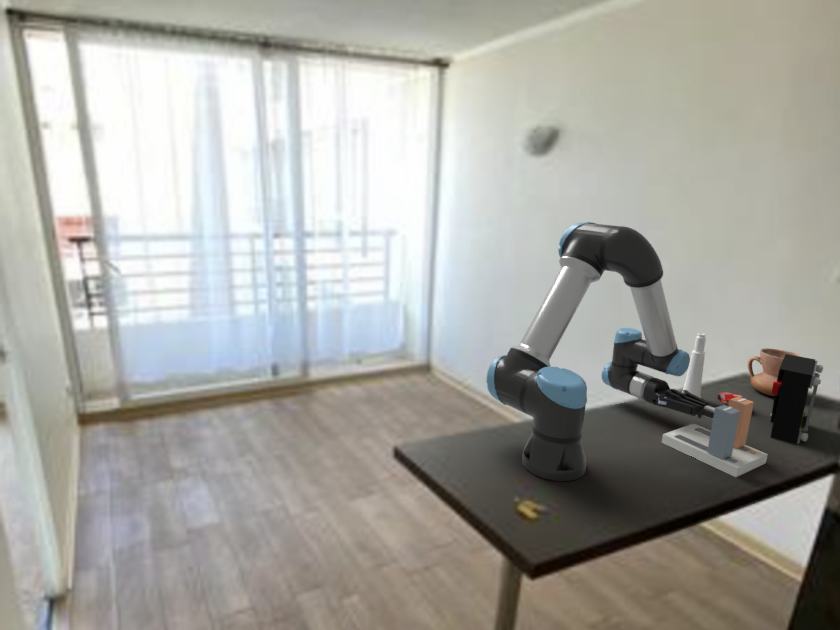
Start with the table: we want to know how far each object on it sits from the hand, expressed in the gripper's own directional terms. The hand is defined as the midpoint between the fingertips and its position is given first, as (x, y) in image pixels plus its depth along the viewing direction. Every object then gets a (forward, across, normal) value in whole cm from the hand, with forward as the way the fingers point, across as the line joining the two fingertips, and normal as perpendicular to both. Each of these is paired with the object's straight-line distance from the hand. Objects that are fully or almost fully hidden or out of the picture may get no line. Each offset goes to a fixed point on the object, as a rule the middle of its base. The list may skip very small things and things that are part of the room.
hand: (728, 419), depth 145 cm
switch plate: (0, +4, -8) cm, 10 cm away
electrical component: (+3, -28, -9) cm, 30 cm away
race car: (-15, -33, -9) cm, 37 cm away
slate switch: (+4, +9, -6) cm, 11 cm away
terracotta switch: (+2, 0, -6) cm, 6 cm away
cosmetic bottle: (-25, -25, -9) cm, 36 cm away
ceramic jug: (-15, -56, -9) cm, 59 cm away
